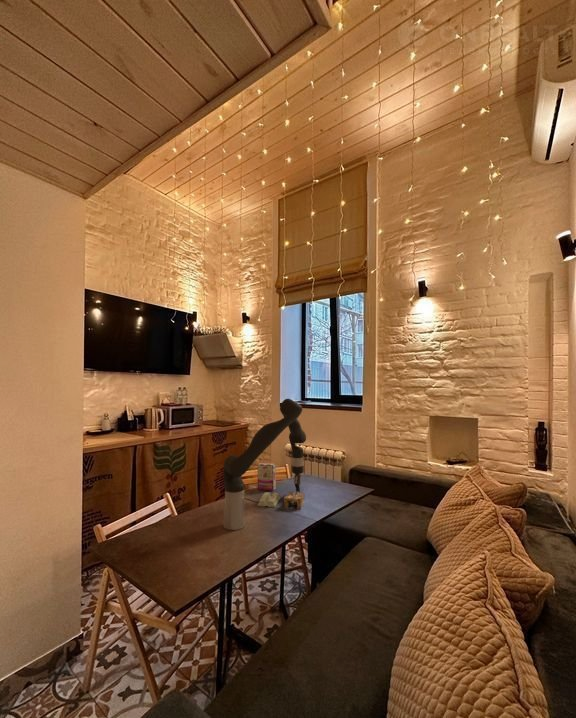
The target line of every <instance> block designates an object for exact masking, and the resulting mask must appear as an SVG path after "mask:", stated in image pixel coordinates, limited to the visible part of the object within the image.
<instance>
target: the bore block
mask: <svg viewBox="0 0 576 718" xmlns="http://www.w3.org/2000/svg"><path fill="white" fill-rule="evenodd" d="M293 493H294V492H288V494H287V495H284V498H283V503H284V504H283V509H286V508H287V509H289V507H290V504H289V501H290V500H296V501H297V503H296V510H302V508H301V507H303V505H304V502H305V492H300V496H292V495H293Z"/></svg>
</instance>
